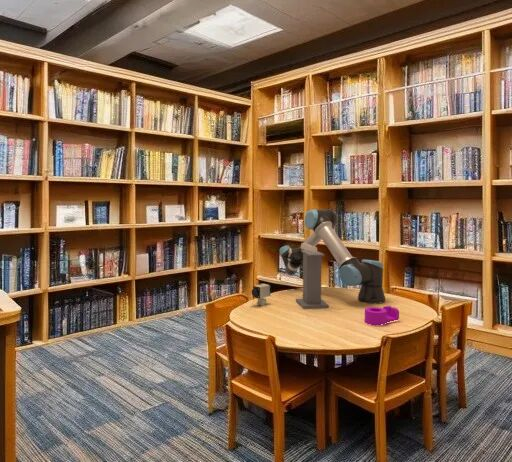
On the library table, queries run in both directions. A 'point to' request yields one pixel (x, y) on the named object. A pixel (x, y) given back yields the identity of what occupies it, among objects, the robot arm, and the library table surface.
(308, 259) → the stand
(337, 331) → the library table surface
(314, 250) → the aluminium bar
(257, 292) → the grey camera
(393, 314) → the tape dispenser
